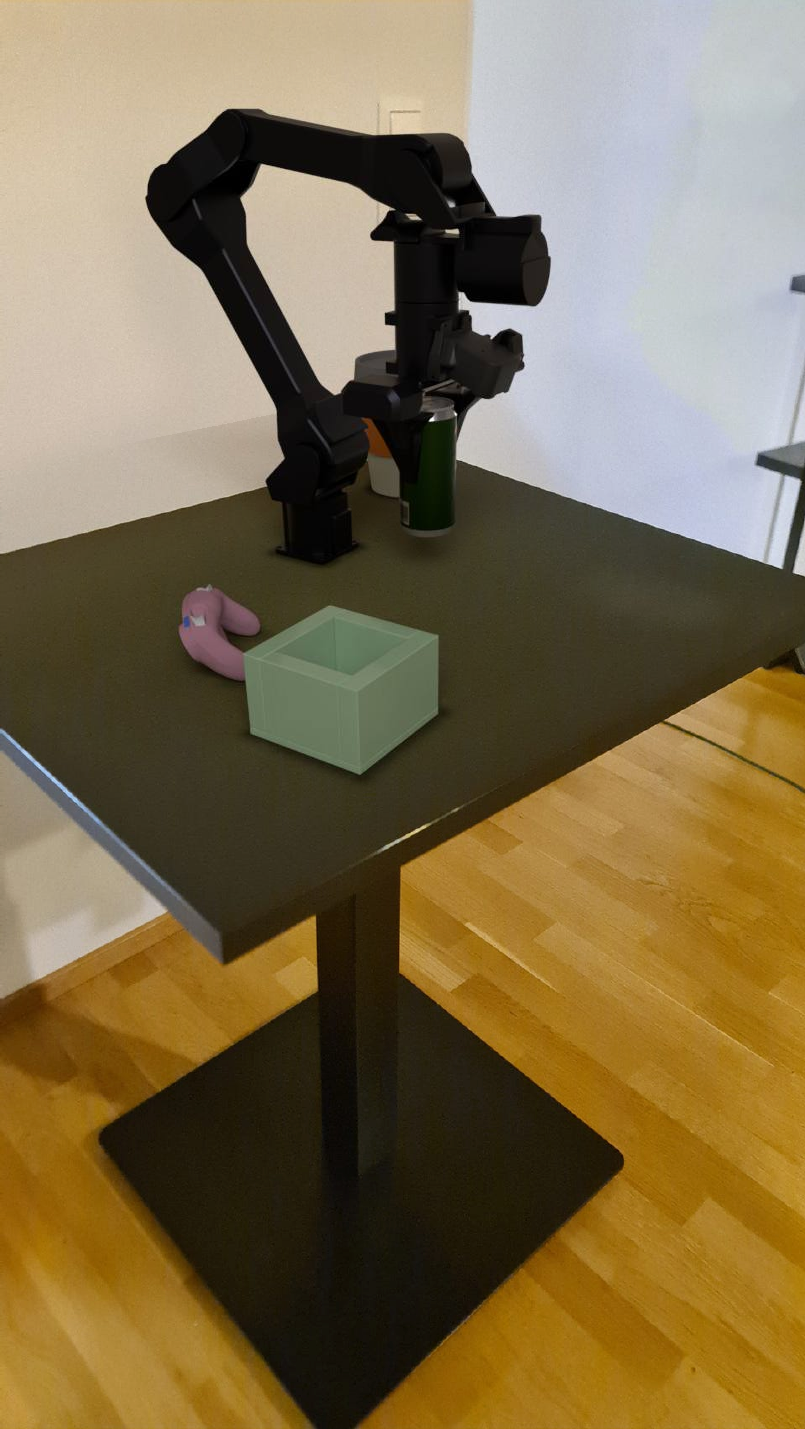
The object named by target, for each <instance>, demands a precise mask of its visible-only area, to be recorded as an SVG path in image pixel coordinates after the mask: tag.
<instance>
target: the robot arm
mask: <svg viewBox="0 0 805 1429" xmlns="http://www.w3.org/2000/svg"><path fill="white" fill-rule="evenodd" d="M262 165H265V166H269V167H272V168H278V169H282V170H287V171H291V172H295V173H299V174H304V175H310V176H313V177H319V178H322V179H327V180H331V181H336V182H340V183H344V184H348V185H350V186H353V187H355V188H357V189H359V190H360V191H361V192H363V193H364V194H365V195H366V196H368V198H370V199H371V200H373V201H376V202H378V203H380V204H382V205H384V206H386V207H389V208H390V210H388V211H387V212H386V214H385V216H384V218H383V219H382V221H380V223H379V224H378V225H377V226H376V227H375V228H374V229H373V230H372V231H371V232H370V234H369V238H370V240H372V241H373V242H389V243H390V242H391V243H393V297H394V298H393V299H394V303H393V305H394V306H393V307H394V310H391V311H386V312H384V325H385V326H390V327H391V326H392V327H394V350H395V359H393V360H390V361H386V373H387V374H394V375H398V377H393V376H385V375H378V374H369V375H366V376H363V377H360V378H357V379H354V378H353V379H350V380H349V381H347V382H346V384H344V386H343V388H342V389H341V390H340V392H339V393H337V394H334V393H332V392H331V391H330V390H329V389H328V388H326V387H325V386H324V385H323V384H322V383H321V382H320V380H319V379H318V376H317V375H316V373H315V371H314V369H313V368H312V366H311V363H310V362H309V360H308V358H307V356H306V354H305V353H304V350H303V348H302V347H301V344H300V343H299V341H298V339H297V337H296V335H295V334H294V331H293V329H292V327H291V325H290V324H289V321H288V320H287V318H286V316H285V314H284V312H283V310H282V309H281V307H280V305H279V303H278V300H276V297H275V295H274V294H273V292H272V290H271V288H270V285H269V284H268V282H267V280H266V278H265V277H264V275H263V273H262V271H261V268H260V267H259V265H258V263H257V261H256V260H255V258H254V256H253V254H252V252H251V250H250V247H249V245H248V231H247V213H246V209H245V207H244V205H243V202H242V199H241V198H242V197H244V195H246V193H247V192H248V191H249V190H250V189H251V188H252V187H253V185H254V183H255V181H256V179H257V175H258V173H259V172H260V168H261V166H262ZM146 187H147V188H146V195H145V197H144V199H145V203H146V204H145V205H146V208H147V210H148V213H149V215H150V218H151V219H152V221H153V222H154V223H155V225H156V226H157V227H158V229H159V231H160V232H161V233H162V234H163V236H164V237H165V239H166V240H167V241H168V243H169V244H170V246H171V247H173V249H174V250H176V251H177V252H179V253H180V254H181V255H182V256H184V257H185V258H186V259H187V260H188V261H189V262H191V263H192V264H193V265H195V266H196V267H197V268H199V269H200V271H201V272H202V273H203V275H204V277H205V278H206V281H207V283H208V285H209V286H210V288H211V290H212V292H213V294H214V295H215V297H216V299H217V301H218V302H219V305H220V307H221V308H222V310H223V312H224V315H225V316H226V318H227V320H228V321H229V324H230V326H231V327H232V329H233V331H234V333H235V334H236V336H237V338H238V340H239V341H240V344H241V345H242V347H243V349H244V351H245V352H246V354H247V356H248V358H249V360H250V362H251V364H252V366H253V368H254V370H255V371H256V373H257V375H258V377H259V378H260V381H261V382H262V384H263V386H264V388H265V390H266V392H267V393H268V395H269V397H270V400H271V401H272V403H273V405H274V408H275V411H276V433H277V442H278V445H279V447H280V450H281V453H282V455H283V460H281V462H279V464H278V465H277V466H276V467H275V468H274V469H273V470H272V472H271V473H270V474H269V475H268V476H267V477H266V479H265V485H266V489H267V491H268V493H269V496H270V499H271V501H273V502H279V503H281V510H282V524H283V538H284V542H283V543H280V544H279V545H277V546H276V545H275V547H274V552H275V553H277V554H281V555H285V556H288V557H292V558H296V559H301V560H304V561H308V562H313V563H317V564H322V565H323V564H326V563H328V562H330V561H332V560H334V559H336V558H337V557H339V556H342V555H345V553H348V552H350V551H351V550H353V549H355V548H358V547H359V545H360V542H359V540H358V539H354V538H353V528H352V527H353V525H352V524H353V523H352V520H353V519H352V510H351V508H349V498H348V496H349V495H348V492H347V491H344V490H343V489H345V488H347V487H349V486H353V485H354V484H356V481H357V478H358V476H359V471H360V470H361V469H362V468H363V467H364V466H365V464H366V462H367V461H368V459H367V458H368V452H369V449H370V442H369V439H368V436H367V433H366V431H365V429H367V428H369V425H368V424H367V423H366V422H365V421H364V420H363V419H362V418H368V419H371V420H372V422H373V423H374V425H375V427H376V428H377V430H378V432H379V433H380V435H381V437H382V438H383V440H384V442H385V444H386V446H387V448H388V449H389V451H390V453H391V455H392V457H393V459H394V461H395V463H396V465H397V467H398V469H399V471H400V474H401V476H402V478H403V480H404V481H405V483H407V484H416V482H417V477H418V471H419V460H420V448H421V435H422V429H423V427H424V426H425V425H426V424H427V423H428V422H429V421H430V419H431V418H432V417H433V416H434V415H435V413H433V412H426V411H423V397H442V398H447V399H451V400H453V401H454V403H455V406H454V409H455V411H456V413H457V442H458V441H459V437H460V434H461V431H462V428H463V425H464V422H465V420H466V417H467V414H468V412H469V410H470V409H472V408H473V407H474V406H475V405H476V404H477V403H478V402H479V401H481V400H483V399H484V400H492V399H494V398H495V397H496V396H497V395H500V394H502V393H504V394H507V393H508V392H509V391H510V389H511V387H512V383H513V381H514V378H515V375H516V373H519V372H521V371H523V370H524V369H525V362H524V357H525V353H524V342H523V341H524V339H523V338H524V337H523V334H522V333H520V332H518V331H516V330H515V329H513V328H510V327H508V328H506V329H503V330H500V331H498V332H497V333H496V334H495V335H494V336H493V337H492V335H491V334H489V333H486V334H480V333H478V332H476V331H474V330H473V316H472V315H471V314H470V310H469V309H461V293H463V294H464V296H465V298H466V300H468V301H469V302H470V303H476V304H491V305H505V306H516V307H517V306H518V307H533V308H534V307H537V306H538V305H539V304H541V302H542V300H543V299H544V297H545V294H546V291H547V290H548V287H549V286H548V285H549V281H550V276H551V269H552V268H551V267H552V266H551V265H552V257H551V255H549V245H548V241H547V238H546V235H545V233H543V231H542V223H543V222H542V219H543V217H542V216H541V214H534V213H533V214H522V215H515V216H506V215H505V216H503V215H499V216H498V215H497V213H496V211H495V210H494V208H493V207H492V204H491V203H490V201H489V200H488V197H487V195H486V194H485V192H484V190H483V189H482V187H481V185H480V184H479V182H478V181H477V178H476V177H475V175H474V173H473V165H472V160H471V156H470V153H469V151H468V149H467V148H466V146H465V142H464V141H463V140H462V139H461V138H459V137H458V136H457V135H455V134H452V133H449V132H427V133H425V132H424V133H423V132H421V133H394V134H393V133H392V134H370V133H365V132H358V131H355V130H349V129H345V128H340V127H336V126H335V127H334V126H331V125H325V124H320V123H316V122H310V121H305V120H301V119H295V118H291V117H286V116H280V115H275V114H270V113H268V112H266V111H264V110H262V109H260V108H227V109H225V110H223V111H222V112H220V114H218V115H217V116H216V117H215V119H213V121H212V122H211V123H210V124H209V126H208V127H207V128H206V129H205V130H204V131H202V132H201V133H200V134H198V135H197V136H195V137H194V138H193V139H192V140H191V141H189V142H187V143H186V144H185V145H184V146H182V147H181V148H180V149H178V150H177V151H176V152H174V154H173V155H172V156H171V157H170V158H169V159H168V161H166V163H160V164H159V165H158V166H155V167H154V169H153V171H152V172H151V173H150V175H149V178H148V181H147V186H146ZM408 215H415V216H416V217H418V218H419V219H412V218H410V217H409V216H408ZM453 230H458V233H455V232H454V233H453V232H447V231H453ZM419 382H421V384H420V385H419ZM361 417H362V418H361Z"/></svg>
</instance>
